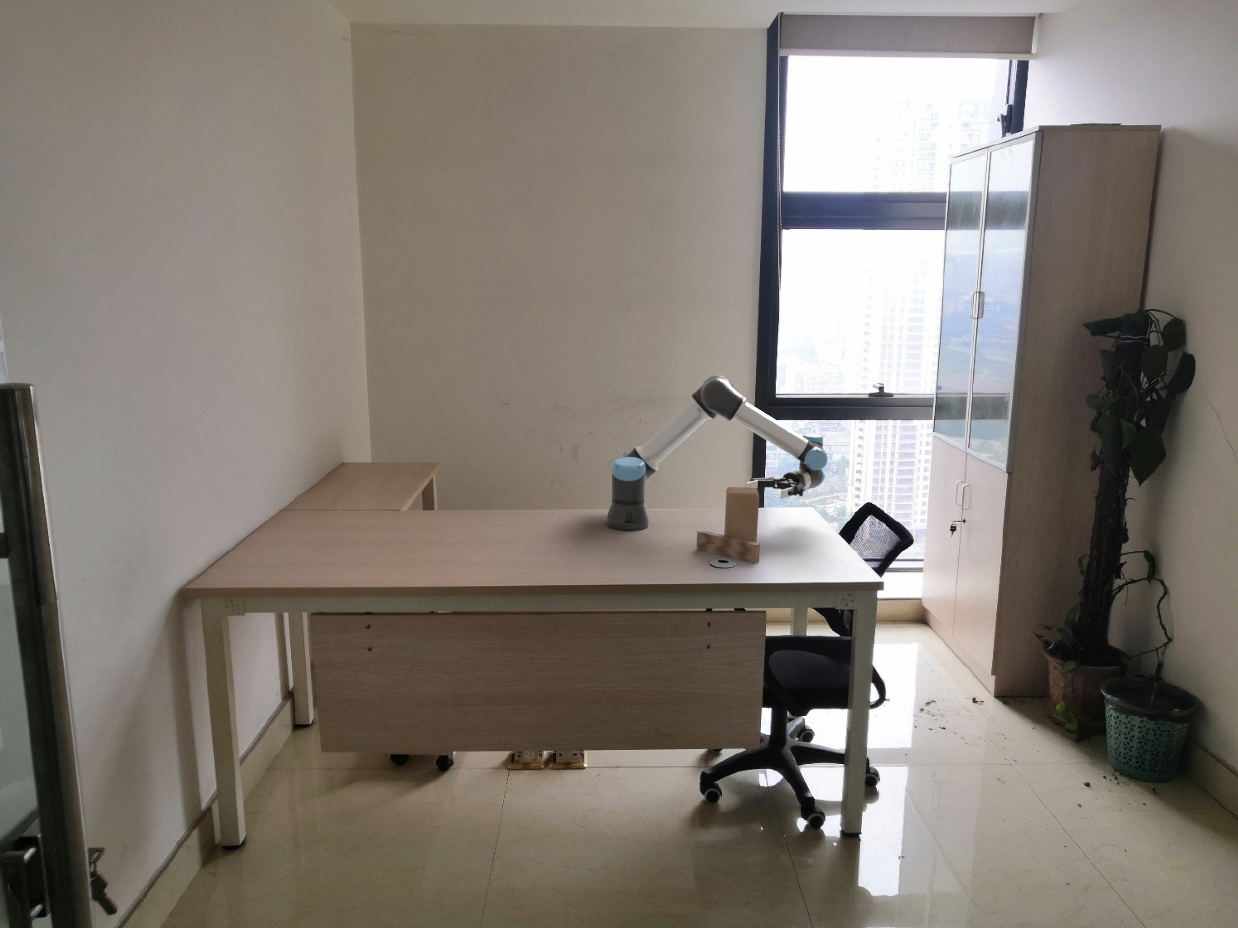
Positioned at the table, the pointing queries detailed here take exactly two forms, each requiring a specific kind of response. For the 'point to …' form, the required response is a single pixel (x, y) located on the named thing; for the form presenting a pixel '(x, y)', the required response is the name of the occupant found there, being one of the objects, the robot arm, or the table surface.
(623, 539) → the table surface
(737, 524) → the block
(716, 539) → the board
